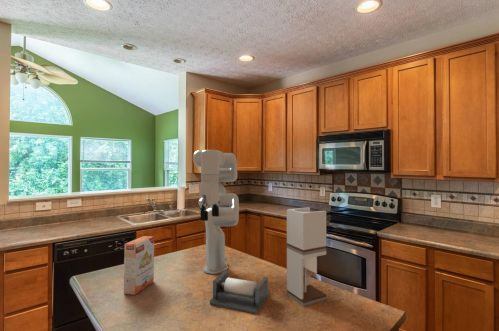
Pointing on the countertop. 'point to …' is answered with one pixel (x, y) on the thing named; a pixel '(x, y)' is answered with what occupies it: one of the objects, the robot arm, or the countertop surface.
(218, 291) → the roll holder
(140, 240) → the cracker box
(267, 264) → the countertop surface
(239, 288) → the kitchen roll
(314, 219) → the white stand
